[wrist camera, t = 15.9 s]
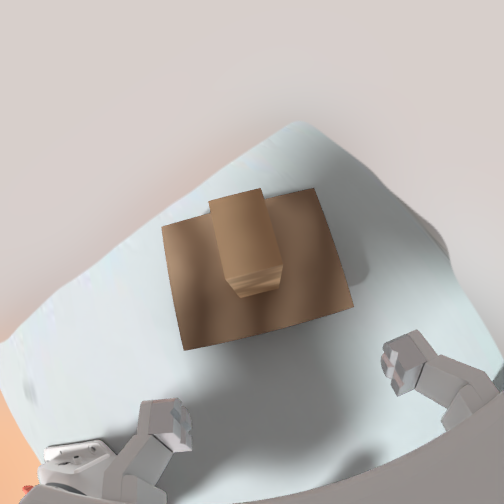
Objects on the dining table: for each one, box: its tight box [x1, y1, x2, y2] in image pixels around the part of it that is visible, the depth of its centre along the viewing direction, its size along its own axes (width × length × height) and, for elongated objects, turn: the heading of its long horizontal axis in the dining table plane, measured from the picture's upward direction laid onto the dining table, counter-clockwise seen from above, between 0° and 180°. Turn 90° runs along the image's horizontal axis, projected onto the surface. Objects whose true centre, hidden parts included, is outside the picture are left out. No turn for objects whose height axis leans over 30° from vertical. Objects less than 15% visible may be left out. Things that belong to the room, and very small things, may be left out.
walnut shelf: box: [162, 188, 354, 351], centre depth 32 cm, size 18×14×6 cm
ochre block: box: [208, 188, 283, 298], centre depth 25 cm, size 4×6×10 cm, turn 14°
